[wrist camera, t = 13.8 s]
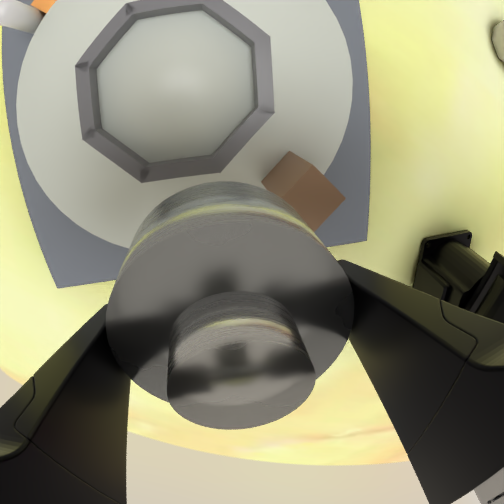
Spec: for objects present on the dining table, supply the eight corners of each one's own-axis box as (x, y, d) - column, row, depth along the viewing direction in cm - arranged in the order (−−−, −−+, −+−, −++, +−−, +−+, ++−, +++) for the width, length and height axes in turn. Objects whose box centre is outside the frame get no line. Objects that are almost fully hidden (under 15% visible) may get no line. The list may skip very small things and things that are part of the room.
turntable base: (342, -66, 11) (377, -95, 6) (364, 238, 22) (401, 274, 18) (6, -8, 9) (-33, -22, 4) (58, 286, 20) (32, 330, 16)
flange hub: (310, 166, 8) (403, 231, 4) (315, 325, 11) (361, 422, 7) (103, 205, 8) (34, 299, 4) (160, 355, 11) (155, 461, 7)
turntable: (152, -98, 8) (141, -140, 3) (395, 86, 16) (450, 89, 12) (-27, 126, 13) (-76, 142, 8) (202, 294, 22) (204, 348, 17)
